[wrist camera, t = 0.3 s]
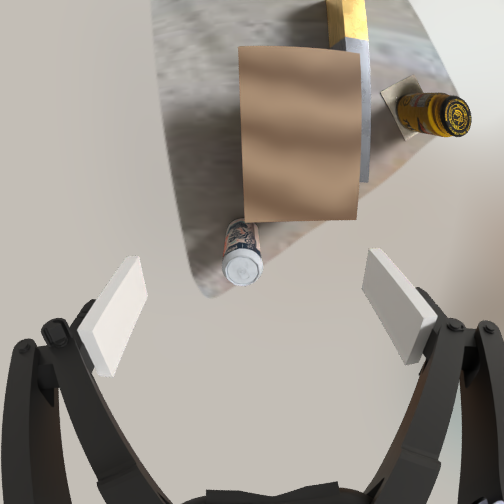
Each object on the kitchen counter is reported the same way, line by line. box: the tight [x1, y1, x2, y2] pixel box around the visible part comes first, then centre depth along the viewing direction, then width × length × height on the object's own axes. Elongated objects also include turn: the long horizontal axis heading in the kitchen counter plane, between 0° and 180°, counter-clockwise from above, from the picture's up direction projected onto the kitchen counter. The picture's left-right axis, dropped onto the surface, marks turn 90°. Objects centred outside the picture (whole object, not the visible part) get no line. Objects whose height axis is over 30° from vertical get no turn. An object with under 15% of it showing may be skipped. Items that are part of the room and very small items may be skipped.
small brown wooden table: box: [238, 46, 362, 223], centre depth 32 cm, size 18×12×12 cm, turn 2°
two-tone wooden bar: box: [326, 0, 371, 182], centre depth 32 cm, size 27×3×7 cm, turn 2°
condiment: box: [380, 75, 471, 141], centre depth 31 cm, size 7×8×12 cm
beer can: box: [222, 218, 263, 286], centre depth 39 cm, size 5×5×12 cm
